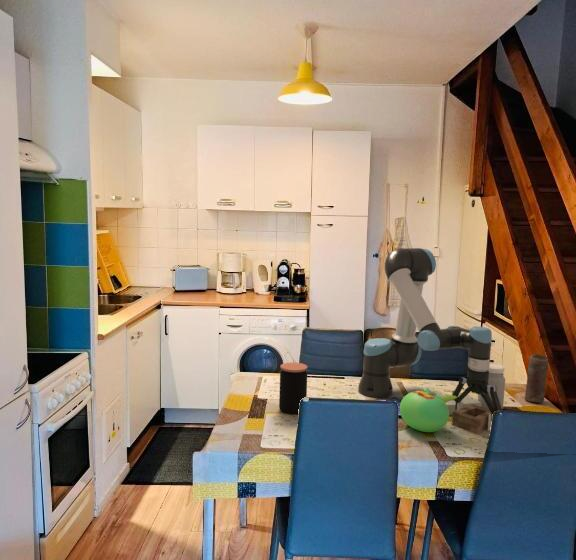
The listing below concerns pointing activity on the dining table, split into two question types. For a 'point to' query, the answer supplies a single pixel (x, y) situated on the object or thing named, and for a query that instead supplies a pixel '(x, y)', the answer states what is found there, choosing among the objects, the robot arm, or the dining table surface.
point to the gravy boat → (425, 410)
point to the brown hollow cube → (471, 418)
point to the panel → (466, 402)
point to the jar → (495, 384)
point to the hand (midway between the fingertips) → (474, 424)
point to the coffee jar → (292, 387)
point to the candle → (536, 378)
